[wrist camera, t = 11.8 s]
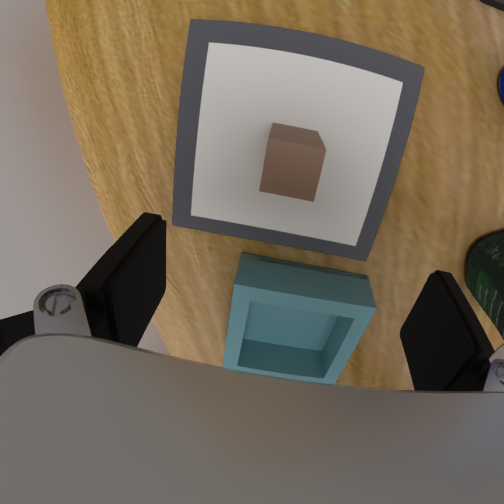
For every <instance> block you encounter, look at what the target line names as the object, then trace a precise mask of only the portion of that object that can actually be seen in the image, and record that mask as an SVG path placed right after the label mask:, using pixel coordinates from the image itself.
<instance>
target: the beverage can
mask: <svg viewBox="0 0 504 504" xmlns="http://www.w3.org/2000/svg"><path fill="white" fill-rule="evenodd" d="M499 88H500V93H501V97H502V99H503V101H504V70H503V71H502V74H501V76H500V81H499Z"/></svg>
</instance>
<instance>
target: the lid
mask: <svg viewBox="0 0 504 504" xmlns="http://www.w3.org/2000/svg"><path fill="white" fill-rule="evenodd" d="M402 85H403V82H400V81H397V80H394V79H392V78H389V77H385V76H382V75H379V74H376V73H373V72H370V71H366V70H363V69H359V68H356V67H352V66H348V65H345V64H341V63H337V62H333V61H329V60H324V59H320V58H315V57H311V56H306V55H301V54H296V53H290V52H285V51H279V50H273V49H266V48H259V47H251V46H243V45H234V44H223V43H210V42H209V46H208V53H207V60H206V67H205V74H204V82H203V90H202V98H201V106H200V115H199V124H198V134H197V144H196V155H195V166H194V178H193V191H192V205H191V215H192V216H198V217H204V218H210V219H215V220H221V221H227V222H232V223H238V224H243V225H249V226H254V227H260V228H265V229H270V230H276V231H281V232H286V233H292V234H297V235H302V236H307V237H312V238H317V239H323V240H328V241H333V242H338V243H343V244H348V245H353V246H356V243H357V240H358V238H359V235H360V232H361V229H362V226H363V223H364V220H365V217H366V214H367V211H368V208H369V205H370V202H371V199H372V196H373V193H374V189H375V186H376V183H377V180H378V176H379V173H380V170H381V166H382V163H383V160H384V156H385V152H386V149H387V145H388V142H389V138H390V134H391V130H392V127H393V123H394V119H395V115H396V111H397V107H398V102H399V98H400V94H401V90H402Z"/></svg>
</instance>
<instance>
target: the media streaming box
mask: <svg viewBox="0 0 504 504" xmlns="http://www.w3.org/2000/svg"><path fill="white" fill-rule="evenodd" d="M480 1H481V2H483V3H485V4H487V5H490V6H492V7H495V8H497V9H500V10H502V11H504V0H480Z"/></svg>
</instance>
